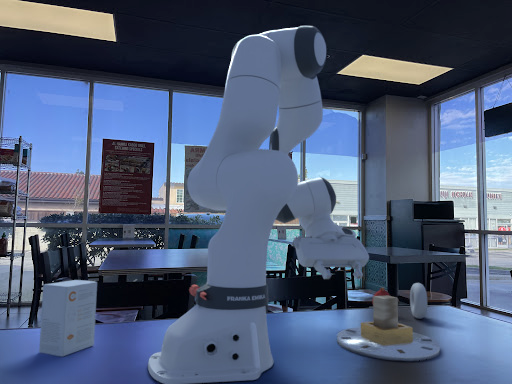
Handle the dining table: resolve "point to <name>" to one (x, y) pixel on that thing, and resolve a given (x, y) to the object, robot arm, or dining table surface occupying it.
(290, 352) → the dining table surface
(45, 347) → the small box
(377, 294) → the onion
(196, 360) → the robot arm
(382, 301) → the tall beige block
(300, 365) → the dining table surface
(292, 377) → the dining table surface
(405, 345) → the slotted white disc
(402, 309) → the dining table surface
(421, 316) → the donut
